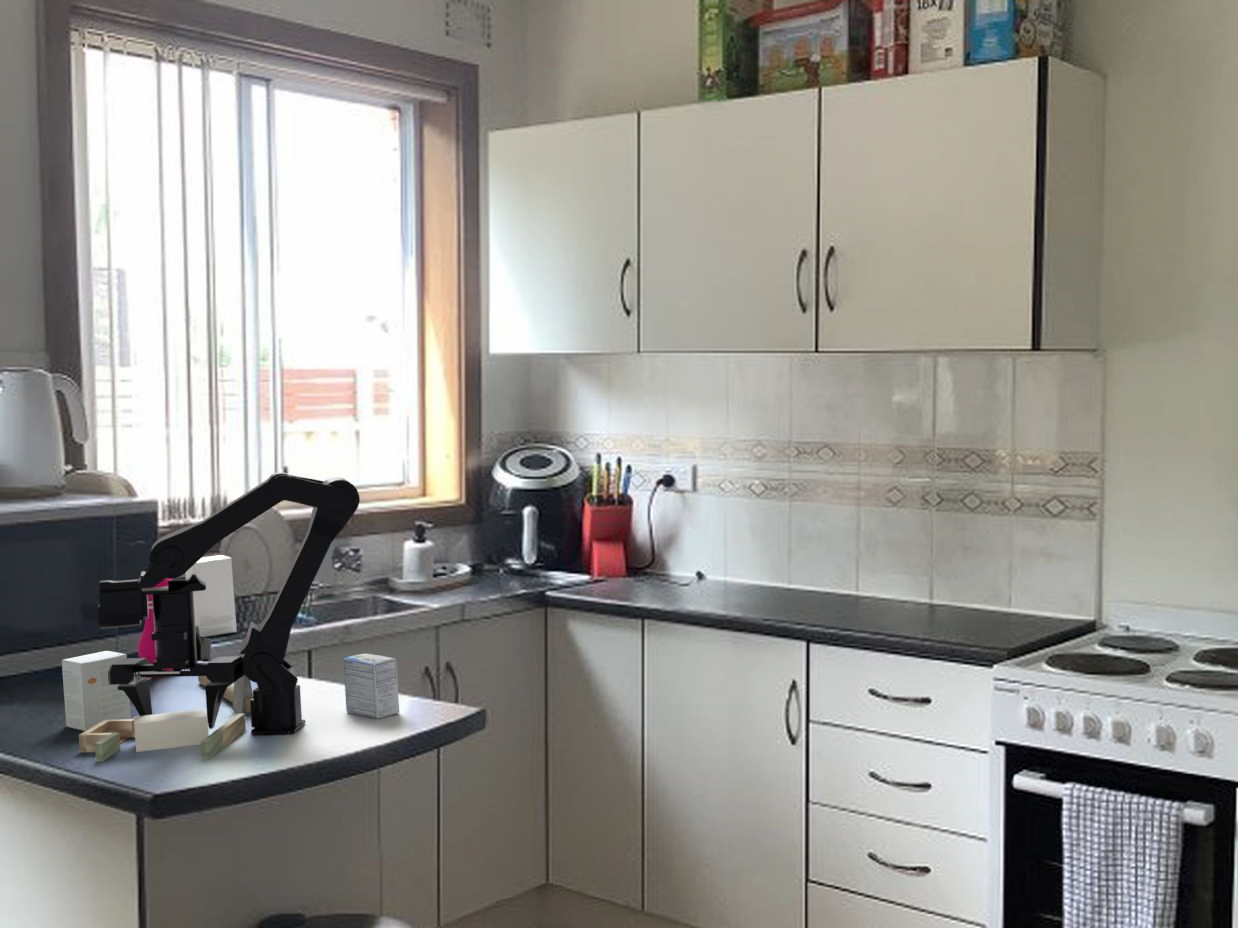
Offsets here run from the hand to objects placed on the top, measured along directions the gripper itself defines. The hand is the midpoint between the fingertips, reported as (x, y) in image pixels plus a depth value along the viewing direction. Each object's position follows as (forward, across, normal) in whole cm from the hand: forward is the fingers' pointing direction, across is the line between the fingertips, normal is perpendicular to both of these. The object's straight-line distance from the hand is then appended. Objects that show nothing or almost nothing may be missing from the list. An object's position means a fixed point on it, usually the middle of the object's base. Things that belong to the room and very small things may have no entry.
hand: (180, 728), depth 217 cm
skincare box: (+2, +26, -85) cm, 89 cm away
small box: (+2, +17, -10) cm, 20 cm away
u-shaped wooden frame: (+2, +2, +3) cm, 4 cm away
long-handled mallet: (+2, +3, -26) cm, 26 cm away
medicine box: (+2, -25, -14) cm, 29 cm away
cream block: (+2, 0, +2) cm, 3 cm away
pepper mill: (+2, +22, -46) cm, 51 cm away
